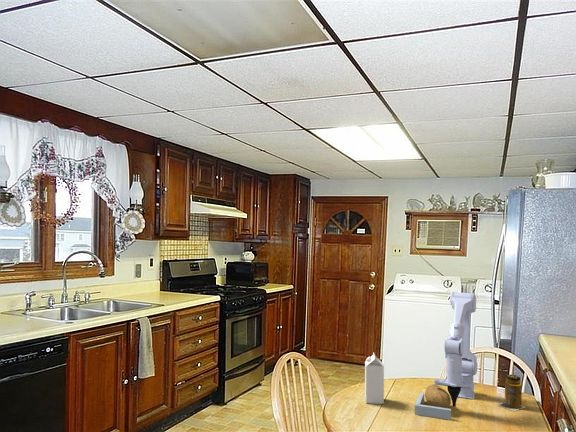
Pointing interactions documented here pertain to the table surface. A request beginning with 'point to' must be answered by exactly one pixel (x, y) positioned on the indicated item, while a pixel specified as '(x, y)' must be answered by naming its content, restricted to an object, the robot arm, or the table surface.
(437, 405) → the potato
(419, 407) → the corner walls
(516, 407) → the condiment
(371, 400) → the milk carton
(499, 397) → the table surface
